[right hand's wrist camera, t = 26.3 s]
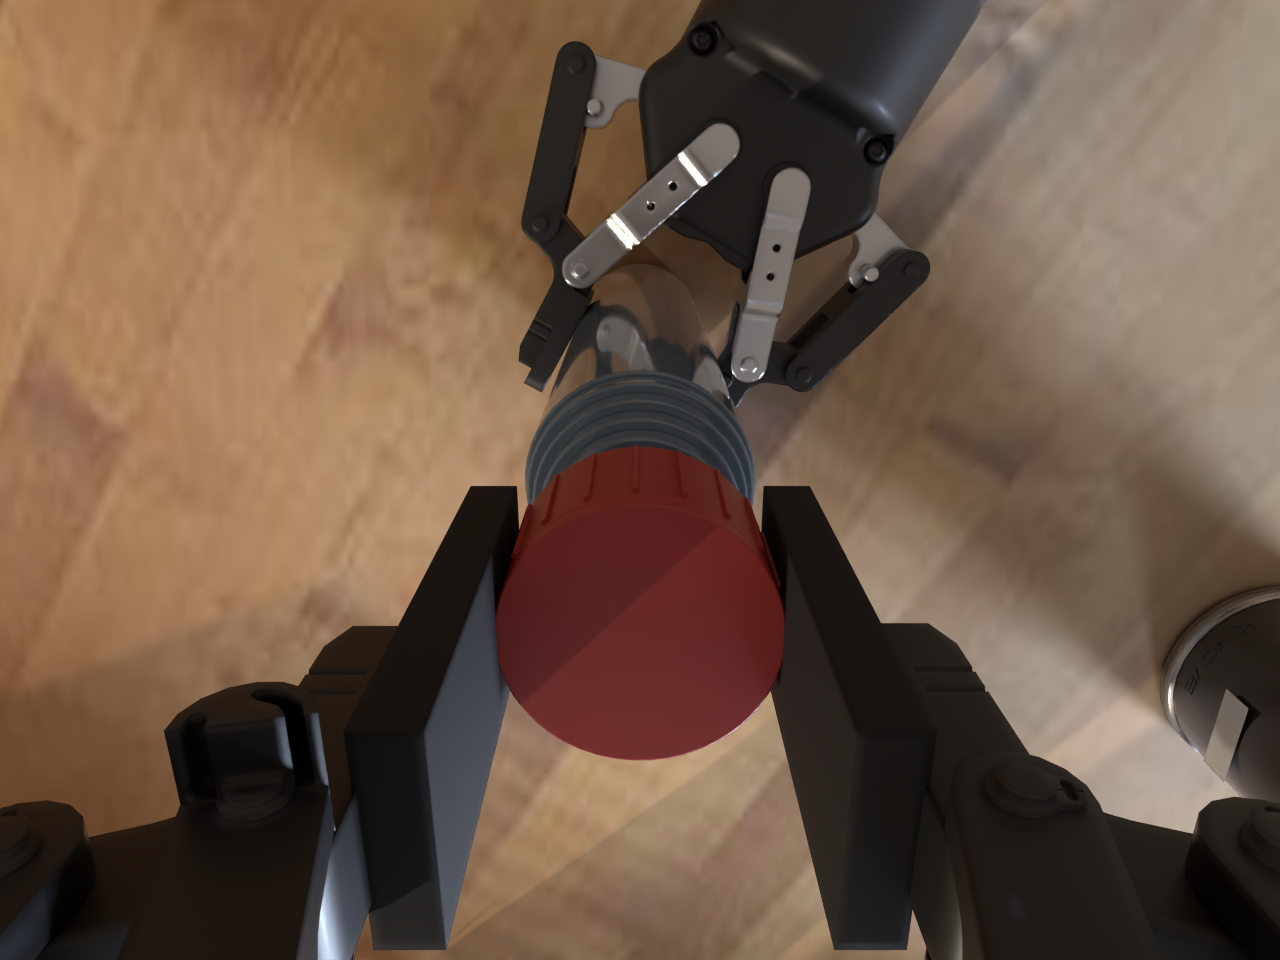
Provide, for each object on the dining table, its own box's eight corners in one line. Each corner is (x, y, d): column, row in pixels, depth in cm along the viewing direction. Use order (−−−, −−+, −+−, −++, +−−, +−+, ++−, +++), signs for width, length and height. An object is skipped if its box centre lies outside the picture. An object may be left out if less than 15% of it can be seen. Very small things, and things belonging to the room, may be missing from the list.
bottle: (653, 400, 37) (674, 789, 14) (560, 335, 36) (420, 640, 13) (721, 308, 36) (866, 574, 13) (626, 239, 35) (599, 391, 12)
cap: (819, 550, 14) (854, 626, 12) (652, 713, 16) (655, 811, 13) (627, 389, 14) (623, 438, 11) (464, 575, 15) (430, 654, 12)
